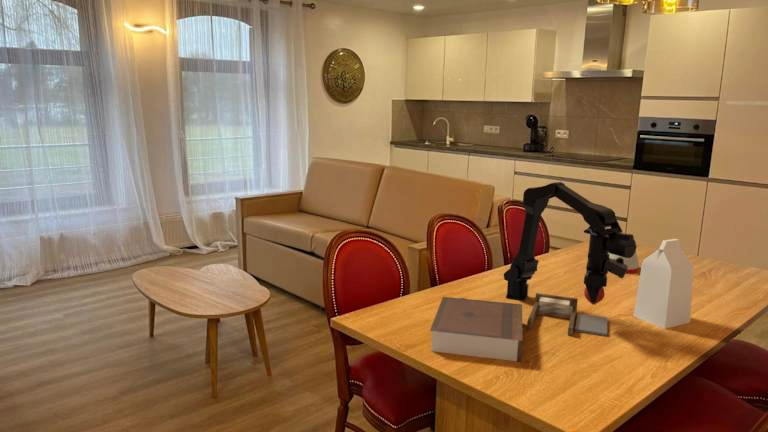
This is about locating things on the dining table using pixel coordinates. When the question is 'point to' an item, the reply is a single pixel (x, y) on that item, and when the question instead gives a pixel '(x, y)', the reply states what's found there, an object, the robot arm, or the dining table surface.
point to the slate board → (591, 324)
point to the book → (478, 329)
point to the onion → (599, 297)
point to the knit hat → (629, 262)
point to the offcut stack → (554, 307)
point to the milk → (665, 287)
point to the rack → (572, 300)
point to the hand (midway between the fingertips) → (593, 299)
